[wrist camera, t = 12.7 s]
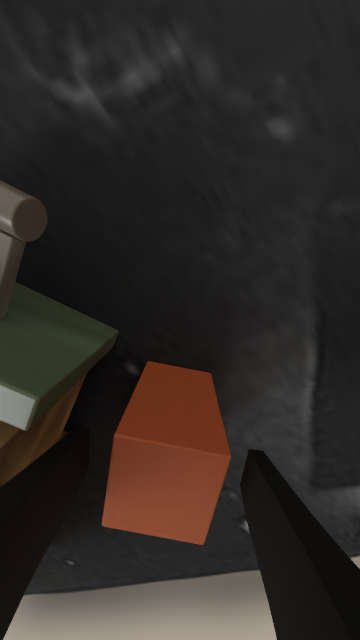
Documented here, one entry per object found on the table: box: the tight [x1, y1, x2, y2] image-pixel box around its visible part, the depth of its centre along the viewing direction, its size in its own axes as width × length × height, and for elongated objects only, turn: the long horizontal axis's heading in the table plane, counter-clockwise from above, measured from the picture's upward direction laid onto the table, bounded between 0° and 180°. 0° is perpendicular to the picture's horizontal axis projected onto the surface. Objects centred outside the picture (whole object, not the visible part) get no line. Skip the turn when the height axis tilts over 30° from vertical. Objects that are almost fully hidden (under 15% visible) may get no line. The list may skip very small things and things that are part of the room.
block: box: [102, 361, 231, 545], centre depth 10 cm, size 4×4×6 cm
